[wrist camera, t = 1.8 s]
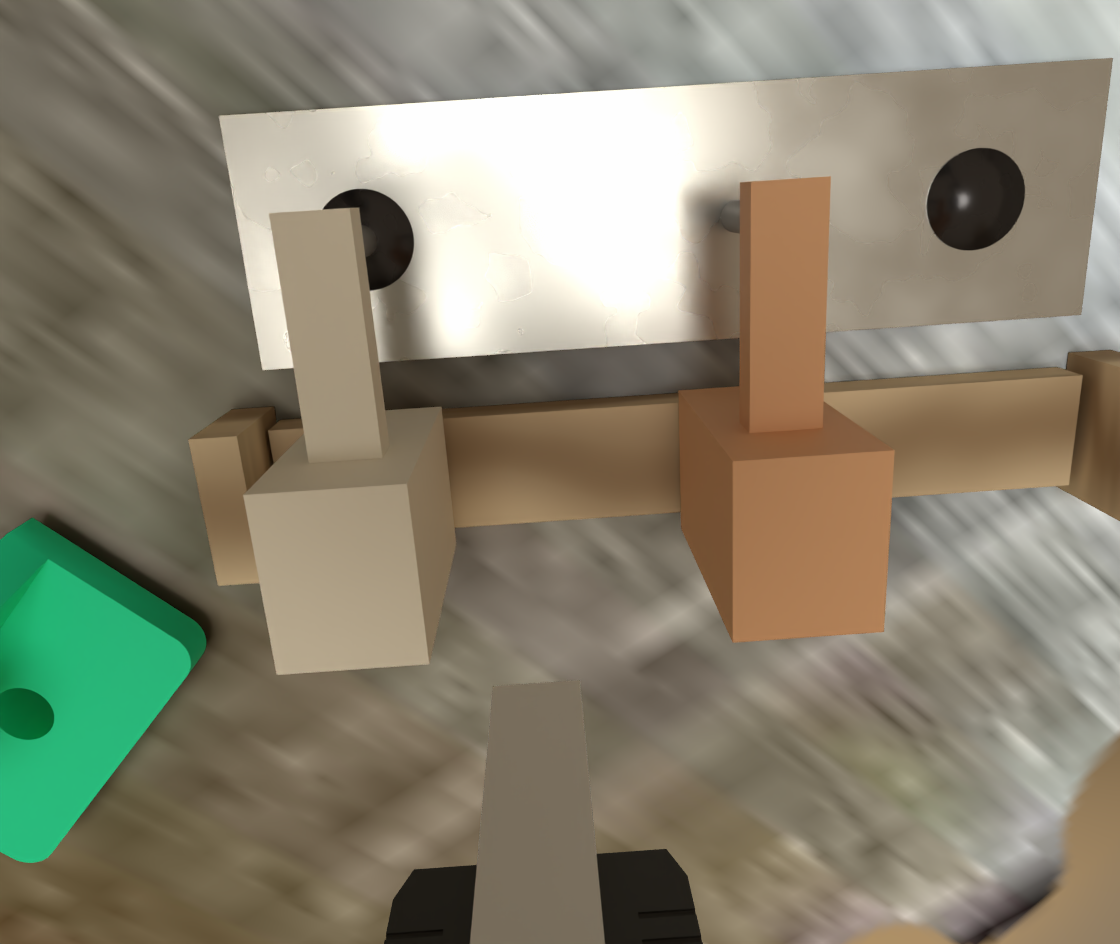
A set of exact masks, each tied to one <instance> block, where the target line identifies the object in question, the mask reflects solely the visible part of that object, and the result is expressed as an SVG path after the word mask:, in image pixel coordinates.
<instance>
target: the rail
mask: <svg viewBox="0 0 1120 944" xmlns="http://www.w3.org/2000/svg"><path fill="white" fill-rule="evenodd" d="M824 402H826V403H827V404H828V405H830V406H831V407H833V408H834V409H836V410H837V411H839V412H840V413H841V414H843V415H844V416H846V417H847V418H849V419H850V420H852V421H853V422H855V423H856V424H857V425H859V426H860V427H862V428H863V429H865V430H866V431H868V432H869V433H870V434H872V435H873V436H875V437H876V438H878V439H879V440H881V441H882V442H883V443H885V444H886V445H888V446H889V447H891V448H892V449H894V450H895V454H894V471H893V487H892V497H905V496H920V495H934V494H949V493H963V492H978V491H992V490H1006V489H1021V488H1035V487H1050V486H1056V487H1058V488H1060V489H1062V490H1064V491H1066V492H1067V493H1069V494H1071V495H1073V496H1075V497H1077V498H1078V499H1080V500H1082V501H1084V502H1086V503H1088V504H1089V505H1091V506H1093V507H1095V508H1097V509H1099V510H1100V511H1102V512H1104V513H1106V514H1108V515H1110V516H1111V517H1113V518H1115V519H1117V520H1119V521H1120V352H1116V351H1112V350H1100V351H1086V352H1071V353H1068V361H1067V369H1066V370H1065V369H1062V368H1058V367H1051V368H1036V369H1022V370H1007V371H992V372H978V373H963V374H948V375H934V376H919V377H904V378H889V379H875V380H860V381H845V382H831V383H824ZM442 416H443V426H444V435H445V444H446V453H447V463H448V472H449V481H450V491H451V500H452V509H453V518H454V528H459V527H473V526H488V525H502V524H516V523H531V522H545V521H560V520H574V519H588V518H603V517H617V516H632V515H646V514H660V513H675V512H681V493H680V444H679V396H678V393H669V394H654V395H640V396H625V397H610V398H596V399H581V400H566V401H551V402H537V403H522V404H507V405H493V406H478V407H463V408H449V409H442ZM303 434H304V430H303V424H302V419H287V420H280V421H279V422H278V423H277V421H276V416H275V410H274V407H261V408H246V409H232V410H230V411H229V412H227V413H226V414H225V415H223V416H222V417H220V418H219V419H217V420H216V421H214V422H213V423H212V424H210V425H209V426H207V427H206V428H204V429H203V430H201V431H200V432H199V433H197V434H196V435H194V436H193V437H191V438H190V439H188V440H189V445H190V450H191V455H192V460H193V465H194V470H195V475H196V480H197V485H198V490H199V494H200V499H201V504H202V509H203V514H204V519H205V524H206V529H207V534H208V539H209V544H210V548H211V553H212V558H213V563H214V568H215V573H216V578H217V583H218V586H223V585H237V584H252V583H260V582H259V577H258V572H257V566H256V561H255V556H254V550H253V545H252V540H251V534H250V529H249V524H248V518H247V513H246V508H245V502H244V497H243V495H244V494H245V493H246V492H247V491H248V490H249V489H250V488H251V487H252V486H253V485H254V484H255V483H256V482H257V481H258V480H259V479H260V478H261V477H262V475H263V474H264V473H265V472H266V471H267V470H268V469H269V468H270V467H271V466H272V465H273V464H274V463H275V462H276V461H277V460H278V459H279V458H280V457H281V456H282V455H283V454H284V453H285V452H286V451H287V450H288V449H289V448H290V447H291V446H292V445H293V444H294V443H295V442H296V441H297V440H298V439H299V438H300V437H301V436H302V435H303Z"/></svg>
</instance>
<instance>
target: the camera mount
mask: <svg viewBox="0 0 1120 944" xmlns="http://www.w3.org/2000/svg"><path fill="white" fill-rule="evenodd" d="M205 648H206V637H205V634H204V631H203V630H202V628H201V627H200V625H199V624H198V623H197V622H195V621H194V620H193V619H191V618H190V617H188V616H186V615H185V614H183V613H182V612H180V611H179V610H177V609H175V608H174V607H172V606H171V605H169V604H168V603H166V602H164V601H163V600H161V599H160V598H158V597H157V596H155V595H153V594H152V593H150V592H149V591H147V590H146V589H144V588H142V587H141V586H139V585H138V584H136V583H135V582H133V581H131V580H130V579H128V578H127V577H125V576H124V575H122V574H120V573H119V572H117V571H116V570H114V569H113V568H111V567H109V566H108V565H106V564H105V563H103V562H102V561H100V560H98V559H97V558H95V557H94V556H92V555H91V554H89V553H87V552H86V551H84V550H83V549H81V548H80V547H78V546H76V545H75V544H73V543H72V542H70V541H69V540H67V539H65V538H64V537H62V536H61V535H59V534H58V533H56V532H54V531H53V530H51V529H50V528H48V527H47V526H45V525H43V524H42V523H40V522H39V521H37V520H36V519H34V518H31V519H30V520H28V521H26V522H25V523H23V524H22V525H20V526H18V527H17V528H15V529H14V530H12V531H11V532H9V533H7V534H6V535H5V536H4V537H3V538H2V539H1V540H0V852H2V853H4V854H5V855H7V856H9V857H11V858H13V859H15V860H18V861H21V862H27V863H33V862H39V861H42V860H44V859H46V858H47V857H49V856H50V855H51V853H52V852H53V851H54V849H55V848H56V847H57V846H58V844H59V843H60V842H61V840H62V839H63V838H64V836H65V835H66V834H67V832H68V831H69V830H70V829H71V827H72V826H73V825H74V823H75V822H76V821H77V819H78V818H79V817H80V815H81V814H82V813H83V812H84V810H85V809H86V808H87V806H88V805H89V804H90V802H91V801H92V800H93V798H94V797H95V796H96V795H97V793H98V792H99V791H100V789H101V788H102V787H103V785H104V784H105V783H106V781H107V780H108V779H109V777H110V776H111V775H112V774H113V772H114V771H115V770H116V768H117V767H118V766H119V764H120V763H121V762H122V760H123V759H124V758H125V757H126V755H127V754H128V753H129V751H130V750H131V749H132V747H133V746H134V745H135V743H136V742H137V741H138V740H139V738H140V737H141V736H142V734H143V733H144V732H145V730H146V729H147V728H148V726H149V725H150V724H151V723H152V721H153V720H154V719H155V717H156V716H157V715H158V713H159V712H160V711H161V709H162V708H163V707H164V706H165V704H166V703H167V702H168V700H169V699H170V698H171V696H172V695H173V694H174V692H175V691H176V690H177V688H178V687H179V686H180V685H181V683H182V682H183V681H184V679H185V678H186V677H187V675H188V674H189V673H190V671H191V670H192V668H193V667H194V666H195V664H196V663H197V662H198V660H199V659H200V658H201V656H202V655H203V653H204V651H205Z"/></svg>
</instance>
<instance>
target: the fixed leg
mask: <svg viewBox="0 0 1120 944" xmlns="http://www.w3.org/2000/svg"><path fill="white" fill-rule="evenodd" d="M269 218H270V224H271V230H272V236H273V243H274V249H275V255H276V261H277V268H278V274H279V280H280V286H281V293H282V299H283V305H284V311H285V318H286V324H287V330H288V336H289V342H290V349H291V355H292V361H293V367H294V374H295V380H296V386H297V392H298V399H299V405H300V411H301V417H302V424H303V430H304V434H303V435H302V436H301V437H300V438H299V439H298V440H297V441H296V442H295V443H294V444H293V445H292V446H291V447H290V448H289V449H288V450H287V451H286V452H285V453H284V454H283V455H282V456H281V457H280V458H279V459H278V460H277V461H276V462H275V463H274V464H273V465H272V466H271V467H270V468H269V469H268V470H267V471H266V472H265V473H264V474H263V475H262V477H261V478H260V479H259V480H258V481H257V482H256V483H255V484H254V485H253V486H252V487H251V488H250V489H249V490H248V491H247V492H246V493H245V494H244V495H243V497H244V502H245V508H246V513H247V518H248V524H249V529H250V534H251V540H252V545H253V550H254V556H255V561H256V566H257V572H258V577H259V582H260V588H261V593H262V599H263V604H264V609H265V615H266V620H267V625H268V631H269V636H270V641H271V647H272V652H273V657H274V663H275V668H276V673H277V675H282V674H296V673H310V672H325V671H339V670H353V669H367V668H381V667H395V666H409V665H423V664H429V663H430V659H431V654H432V650H433V645H434V641H435V637H436V632H437V628H438V623H439V619H440V614H441V610H442V605H443V601H444V596H445V592H446V587H447V583H448V579H449V574H450V570H451V565H452V561H453V556H454V552H455V547H456V537H455V528H454V518H453V509H452V500H451V491H450V481H449V472H448V463H447V453H446V444H445V435H444V426H443V416H442V407H427V408H412V409H398V410H385V406H384V398H383V390H382V382H381V375H380V367H379V359H378V351H377V343H376V336H375V328H374V320H373V312H372V305H371V297H370V289H369V281H368V274H367V266H366V258H365V257H367V256H370V255H371V254H372V253H373V252H374V251H375V249H376V246H377V238H376V235H375V233H374V232H373V231H372V230H371V229H370V228H369V227H367V226H364V225H361V219H360V212H359V208H341V209H325V210H310V211H295V212H280V213H269Z"/></svg>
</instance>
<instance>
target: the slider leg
mask: <svg viewBox="0 0 1120 944" xmlns="http://www.w3.org/2000/svg"><path fill="white" fill-rule="evenodd" d="M830 189H831V176H827V177H812V178H797V179H782V180H767V181H751V182H740V200H734V201H731V202H729V203H728V204H726V205H725V206H724V208H723V210H722V212H721V223H722V225H723V227H724V228H725V229H726V230H728V231H730V232H733V233H739V234H740V380H739V386H736V387H721V388H706V389H692V390H678V396H679V444H680V493H681V529H682V531H683V533H684V536H685V538H686V540H687V542H688V544H689V547H690V549H691V551H692V553H693V555H694V558H695V560H696V562H697V564H698V567H699V569H700V571H701V573H702V575H703V578H704V580H705V582H706V584H707V586H708V589H709V591H710V593H711V595H712V598H713V600H714V602H715V604H716V606H717V609H718V611H719V613H720V615H721V617H722V620H723V622H724V624H725V626H726V629H727V631H728V633H729V635H730V637H731V640H732V642H733V643H734V642H748V641H762V640H776V639H790V638H804V637H818V636H832V635H846V634H861V633H875V632H884V620H885V604H886V587H887V570H888V554H889V537H890V521H891V504H892V487H893V471H894V454H895V450H894V449H892V448H891V447H889V446H888V445H886V444H885V443H883V442H882V441H881V440H879V439H878V438H876V437H875V436H873V435H872V434H870V433H869V432H868V431H866V430H865V429H863V428H862V427H860V426H859V425H857V424H856V423H855V422H853V421H852V420H850V419H849V418H847V417H846V416H844V415H843V414H841V413H840V412H839V411H837V410H836V409H834V408H833V407H831V406H830V405H828V404H827V403H826V402H824V371H825V341H826V310H827V280H828V250H829V219H830Z"/></svg>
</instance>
